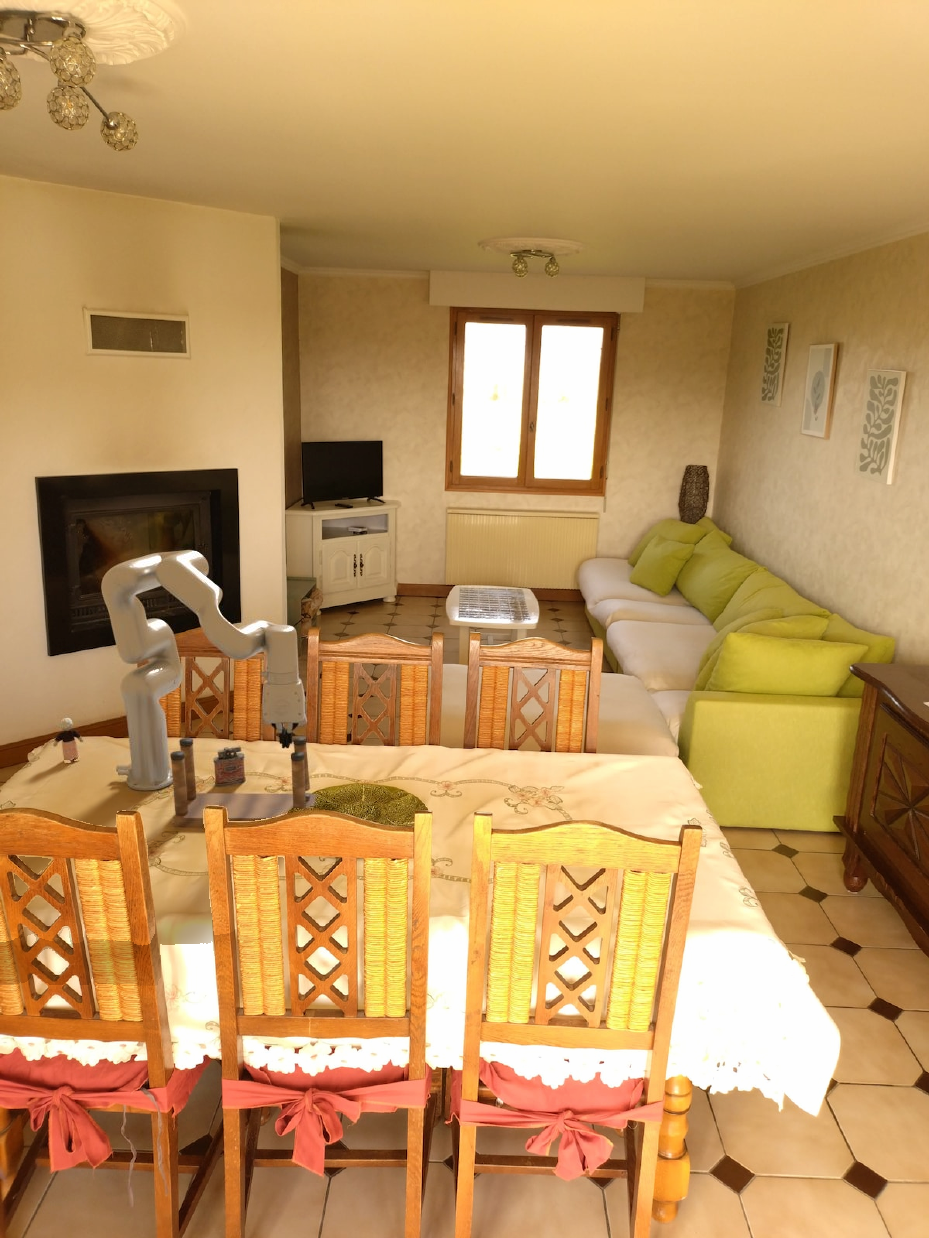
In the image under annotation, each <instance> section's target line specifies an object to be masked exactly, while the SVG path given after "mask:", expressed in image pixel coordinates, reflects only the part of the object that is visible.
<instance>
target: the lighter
mask: <svg viewBox="0 0 929 1238" xmlns="http://www.w3.org/2000/svg"><path fill="white" fill-rule="evenodd" d="M213 764H214V777H215V781H214V786H215V787H216V788H224V787H231V786H236V785H240V784H242V783H243V784H244V783H245V782H246V774H245V773H246V772H245V754H244V753H243V752H242V747H241V746H239V745H237V746H233V747H232V746H231V748H229V747H228V746H226V747H224V748H223V749H218V750H217V756H216V757H213Z"/></svg>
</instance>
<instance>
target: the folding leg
mask: <svg viewBox="0 0 929 1238" xmlns="http://www.w3.org/2000/svg"><path fill="white" fill-rule="evenodd" d="M292 739H293V741H292V744H293V749H294V752H303V753H304V771H305V792H308V791H310V789H311V786H310V785H311V783H310V773H309V772H310V771H309V761H308V759H309V758H308V750H307V749H308V748H307V737H306V736H296V737H294V738H292Z"/></svg>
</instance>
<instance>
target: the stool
mask: <svg viewBox="0 0 929 1238" xmlns="http://www.w3.org/2000/svg"><path fill="white" fill-rule="evenodd" d="M179 747H180V748H179V749H180V750H175V751H172V752H171V753H170V755H169V756H170V760H171V761H170V762H171V769H172V776H173V783H172V788H173V803H174V813H175V815H174V816H173V827H174V828H205V827H204V824H203V809H204V808H205V807H206V806H207V805H219V806H224V807H226V808H227V811H228V819H229V821H255V820H261V819H266V818H272V817H276V816H278V815H281V814H286V813H287V812H288V811H289V810H291V809H292V808H299V809H303V808H314V807H309V806H314V804H315V801H316V797H317V798H318V794H317V793H310V792H306V791H305V771H304V753H303V752H295V751H294V752H292V753H291V754H290V759H291V760H290V763H291V782H292V785H291V786H292V793H239V792H237V793H229V792H228V793H217V792H215V793H214V792H213V793H212V792H211V793H208V792H207V793H202V792H201V793H200V792H197V785H196V772H195V760H194V759H195V758H194V755H195V754H194V739H193V738H191V737H183V738H180V739H179Z"/></svg>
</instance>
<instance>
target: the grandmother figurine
mask: <svg viewBox="0 0 929 1238" xmlns="http://www.w3.org/2000/svg"><path fill="white" fill-rule="evenodd" d="M73 724H74V723H73V720H72V719H71V718H69V717H64V718H62V719H61V720H60V722H59V728H60V729H62V730H63V731H61V732H60V733H58V734H57V735H56V737H55V738H54V742H53V744H52V746H53V747H57V746H58V743H59V742H61V748H62V749H61V750H62V755H63V761H64V760H70V759H71V760H73V758H74V760H76V759H78V757H80V755H79V749H78V745H77V741H76V739H75V738H77V739H78V741H79V742H80V743H84V739H83V737H82V736H81V734H80V733H79V732H78V731H77V730H75V729H73Z"/></svg>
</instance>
